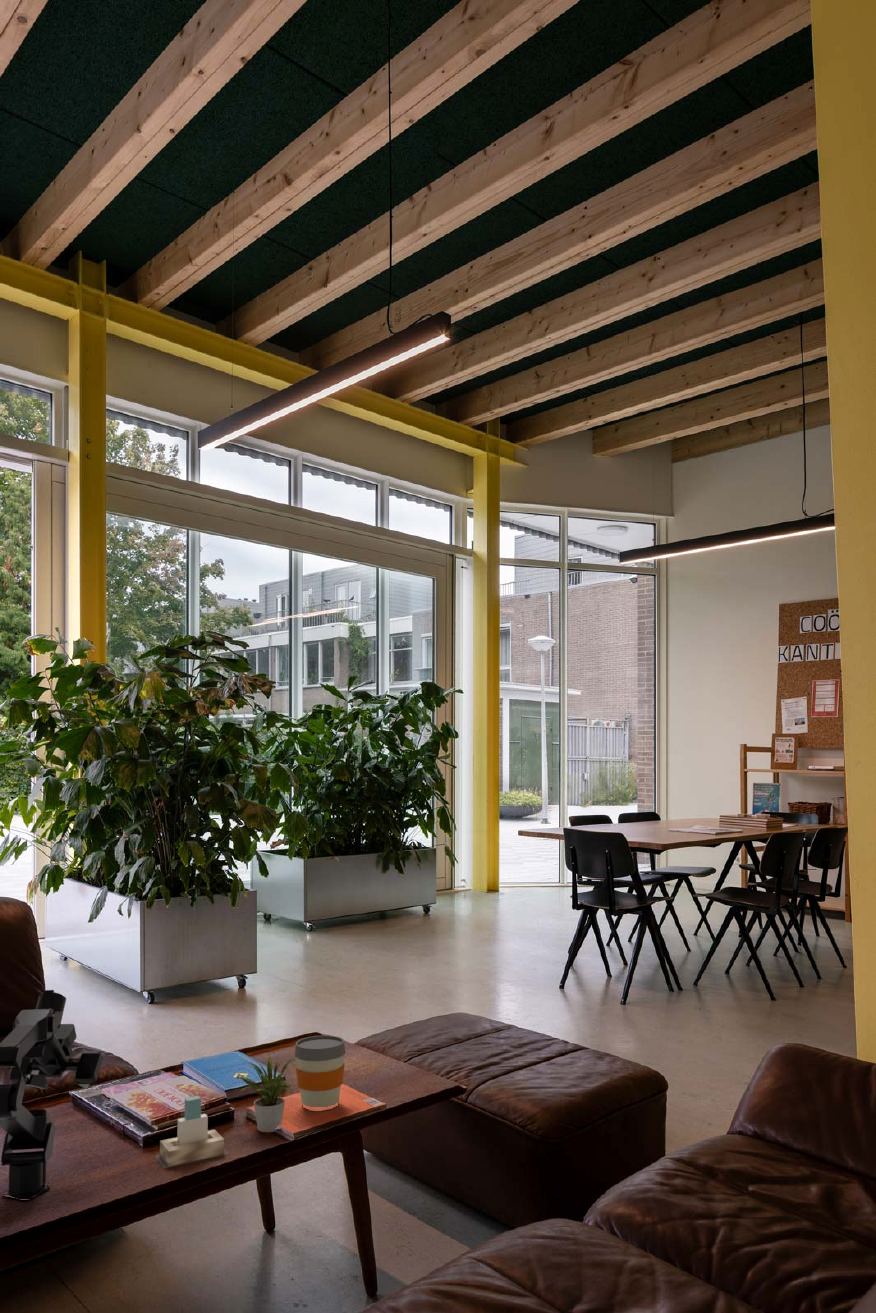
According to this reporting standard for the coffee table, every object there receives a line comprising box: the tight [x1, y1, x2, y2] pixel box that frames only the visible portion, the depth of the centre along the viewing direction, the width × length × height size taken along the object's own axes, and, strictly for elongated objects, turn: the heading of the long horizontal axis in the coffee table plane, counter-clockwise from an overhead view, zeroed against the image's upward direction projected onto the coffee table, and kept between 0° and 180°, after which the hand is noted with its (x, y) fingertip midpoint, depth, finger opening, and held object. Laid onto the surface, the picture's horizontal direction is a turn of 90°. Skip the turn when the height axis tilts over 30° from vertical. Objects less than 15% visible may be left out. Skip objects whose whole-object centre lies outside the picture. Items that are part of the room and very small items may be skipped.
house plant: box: [236, 1053, 300, 1133], centre depth 225 cm, size 14×14×16 cm
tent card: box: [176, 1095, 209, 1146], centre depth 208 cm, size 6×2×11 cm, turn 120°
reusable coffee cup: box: [294, 1035, 346, 1107], centre depth 239 cm, size 13×12×15 cm
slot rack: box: [159, 1129, 225, 1168], centre depth 208 cm, size 12×7×3 cm, turn 120°
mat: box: [154, 1147, 230, 1170], centre depth 208 cm, size 14×8×1 cm, turn 120°
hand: (67, 1086), depth 214 cm, fingers open, 9 cm apart
